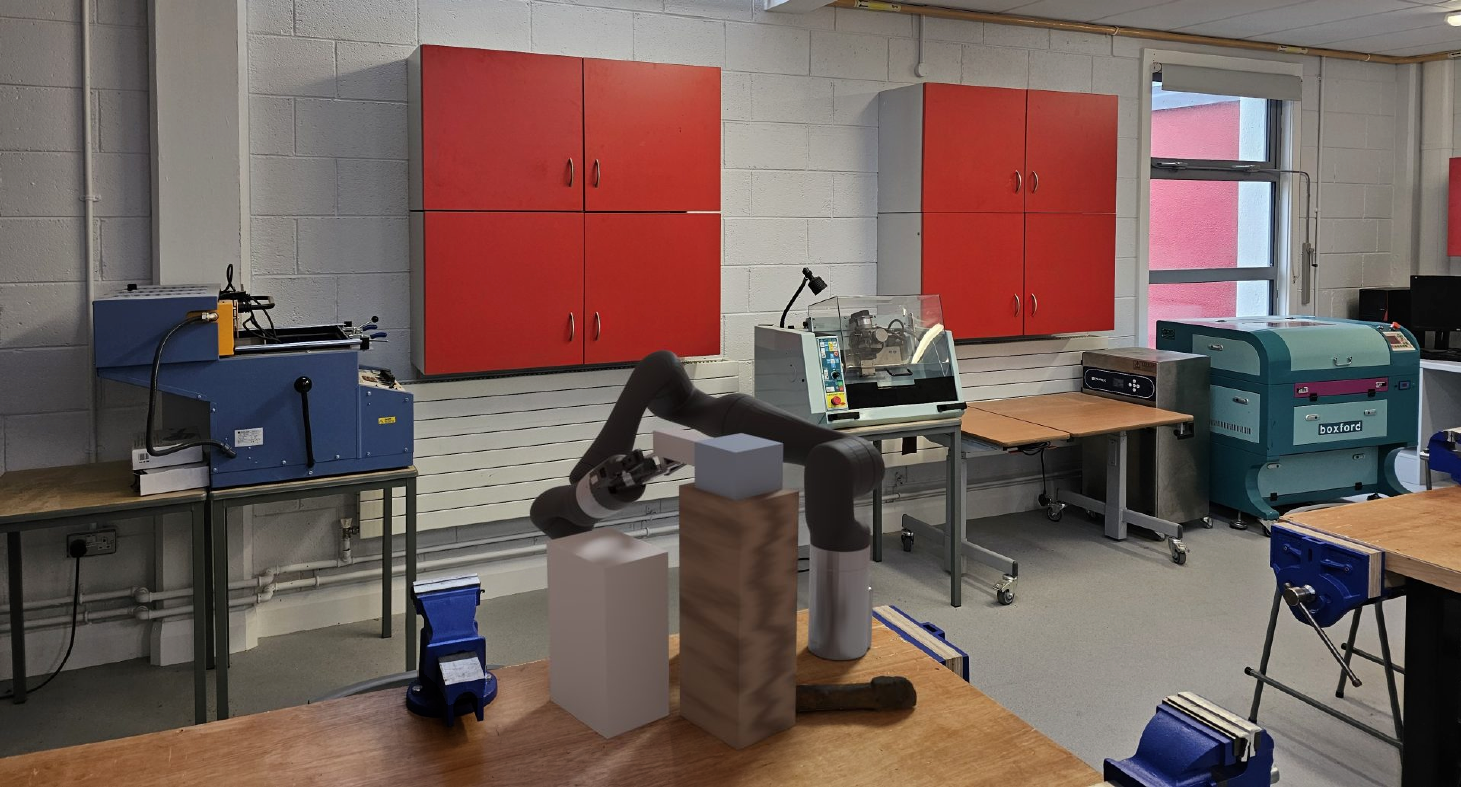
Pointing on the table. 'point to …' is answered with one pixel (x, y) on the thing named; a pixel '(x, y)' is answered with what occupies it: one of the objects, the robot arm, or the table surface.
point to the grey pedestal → (608, 629)
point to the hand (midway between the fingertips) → (666, 450)
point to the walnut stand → (738, 612)
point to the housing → (725, 461)
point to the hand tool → (858, 695)
